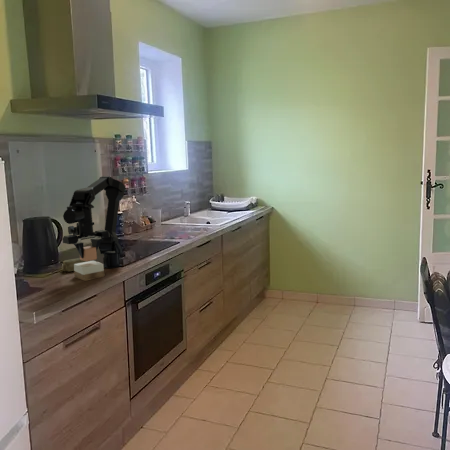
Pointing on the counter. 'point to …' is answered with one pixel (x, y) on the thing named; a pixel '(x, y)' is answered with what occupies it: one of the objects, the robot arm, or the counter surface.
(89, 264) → the tower top
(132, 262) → the counter surface
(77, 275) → the tower bottom
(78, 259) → the stone block
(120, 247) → the robot arm
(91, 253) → the cube
